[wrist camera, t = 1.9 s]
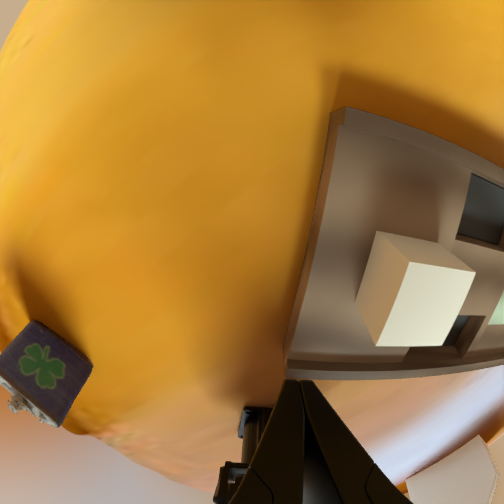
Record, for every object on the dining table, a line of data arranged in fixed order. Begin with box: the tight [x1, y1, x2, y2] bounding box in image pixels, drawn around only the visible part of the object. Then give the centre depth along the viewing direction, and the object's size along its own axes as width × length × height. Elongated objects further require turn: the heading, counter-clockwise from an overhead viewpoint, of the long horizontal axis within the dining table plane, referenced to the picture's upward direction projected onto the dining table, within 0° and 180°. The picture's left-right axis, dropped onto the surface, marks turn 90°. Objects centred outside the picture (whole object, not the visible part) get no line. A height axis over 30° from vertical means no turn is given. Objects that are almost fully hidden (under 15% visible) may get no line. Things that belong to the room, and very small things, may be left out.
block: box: [355, 231, 476, 346], centre depth 15 cm, size 5×5×4 cm
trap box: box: [283, 106, 504, 380], centre depth 17 cm, size 18×28×4 cm, turn 83°
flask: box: [0, 320, 93, 428], centre depth 19 cm, size 9×3×11 cm, turn 55°
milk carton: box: [405, 434, 500, 504], centre depth 26 cm, size 19×15×25 cm
